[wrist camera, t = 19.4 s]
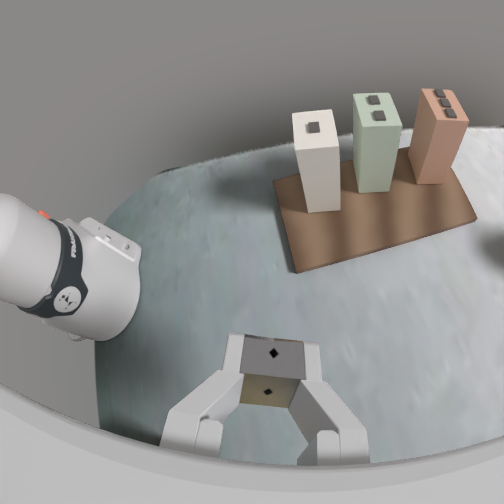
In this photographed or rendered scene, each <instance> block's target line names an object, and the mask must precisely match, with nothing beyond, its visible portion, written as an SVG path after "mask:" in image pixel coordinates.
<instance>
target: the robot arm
mask: <svg viewBox="0 0 504 504" xmlns="http://www.w3.org/2000/svg"><path fill="white" fill-rule="evenodd" d="M128 247H129V249H128ZM140 257H141V246H140V245H139V244H137V243H135V242H134V241H132V240H130V239H128V238H126V237H124V236H123V235H121V234H119V233H117V232H115V231H114V230H112V229H110V228H108V227H107V226H105V225H103V224H101V223H100V222H98V221H96V220H94V219H92V218H90V217H88V218H86V219H84V220H82V221H81V222H80V223H79V224H77V223H76V222H74V221H73V220H71V219H66V220H64V221H62V222H60V221H57V220H53V219H50V217H49V216H48V215H47V214H46V213H45V212H44V211H42V210H39V211H38V212H36V211H35V210H33V209H32V208H30V207H29V206H27V205H26V204H24V203H23V202H21V201H20V200H18V199H17V198H15V197H14V196H11V195H8V194H2V193H0V300H2V301H5V302H8V303H11V304H14V305H17V307H18V308H19V309H20V310H22V311H24V312H26V313H28V314H30V315H33V316H39V317H40V318H41V321H42V322H43V323H44V324H46V325H49V326H51V327H54V328H56V329H59V330H62V331H64V332H67V334H68V336H69V338H70V339H71V340H74V341H81V340H84V339H92V340H95V341H105V340H109V339H111V338H113V337H115V336H117V335H118V334H119V333H120V332H122V331H123V330H124V328H125V327H126V326H127V325H128V323H129V322H130V320H131V319H132V317H133V315H134V312H135V310H136V307H137V304H138V300H139V294H140V278H139V269H138V265H139V261H140ZM239 403H245V404H255V405H266V406H274V407H283V408H288V410H289V412H290V414H291V415H292V417H293V419H294V420H295V422H296V424H297V425H298V427H299V429H300V430H301V432H302V434H303V435H304V437H305V439H306V440H307V442H308V443H309V445H308V446H307V448H306V449H305V450H304V451H303V453H302V454H301V455H300V456H299V458H298V459H297V465H278V464H264V463H253V462H243V461H235V460H227V459H220V450H221V441H222V432H223V425H222V422H223V421H224V420H225V419H226V418H227V417H228V416H229V415H230V414H231V413H232V411H233V410H234V409H235V408H236V407H237V406H238V405H239ZM0 504H504V436H501V437H498V438H495V439H492V440H489V441H485V442H482V443H479V444H475V445H471V446H468V447H464V448H460V449H456V450H452V451H447V452H443V453H438V454H433V455H428V456H422V457H417V458H410V459H404V460H397V461H388V462H379V463H370V457H369V448H368V440H367V432H366V429H365V427H364V426H363V425H362V424H361V423H360V421H359V420H358V419H357V418H356V417H355V416H354V414H353V413H352V412H351V411H350V410H349V408H348V407H347V406H346V405H345V404H344V402H343V401H342V400H341V399H340V398H339V396H338V395H337V394H336V393H335V392H334V390H333V389H332V388H331V387H330V386H329V384H328V383H327V382H325V381H322V375H321V365H320V354H319V345H318V343H317V342H306V341H303V342H302V341H297V340H286V339H277V338H267V337H260V336H254V335H248V334H245V336H244V334H240V333H234V332H229V335H228V339H227V345H226V350H225V355H224V361H223V366H222V370H216V371H215V372H214V373H213V374H212V375H211V376H210V377H208V378H207V379H206V380H205V381H204V382H203V383H201V384H200V385H199V386H198V387H197V388H196V389H194V390H193V391H192V392H191V393H190V394H189V395H187V396H186V397H185V398H184V399H183V400H181V401H180V402H179V403H178V404H177V405H175V406H174V407H173V408H172V409H170V410H169V413H168V417H167V420H166V424H165V427H164V431H163V435H162V438H161V442H160V445H159V446H156V445H152V444H148V443H144V442H141V441H137V440H134V439H130V438H127V437H124V436H120V435H117V434H114V433H111V432H108V431H105V430H102V429H100V428H97V427H94V426H91V425H89V424H86V423H83V422H81V421H78V420H76V419H73V418H71V417H68V416H66V415H63V414H61V413H59V412H57V411H55V410H52V409H50V408H48V407H46V406H44V405H42V404H40V403H37V402H35V401H33V400H31V399H29V398H27V397H26V396H23V395H22V394H20V393H18V392H16V391H14V390H12V389H11V388H9V387H7V386H5V385H3V384H2V383H0Z"/></svg>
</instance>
